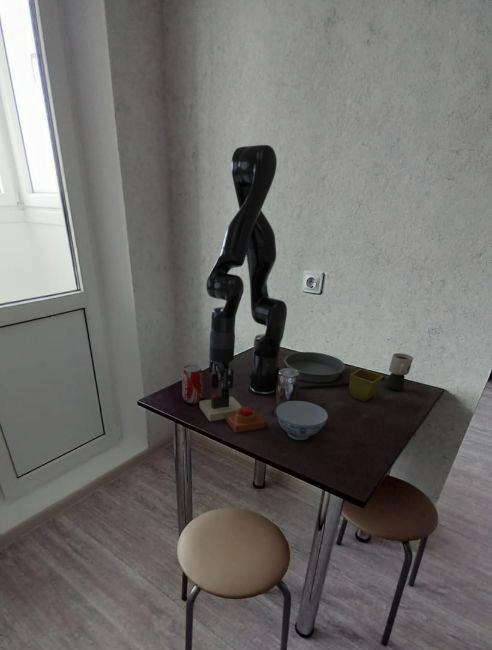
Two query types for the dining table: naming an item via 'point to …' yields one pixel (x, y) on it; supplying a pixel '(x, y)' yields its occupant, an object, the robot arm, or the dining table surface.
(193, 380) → the soda can
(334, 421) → the dining table surface
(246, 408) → the button
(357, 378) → the flower pot
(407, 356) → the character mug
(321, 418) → the chinaware
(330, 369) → the cake pan
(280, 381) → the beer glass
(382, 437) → the dining table surface
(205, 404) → the panel
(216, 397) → the oven dial
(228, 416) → the housing
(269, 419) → the dining table surface
